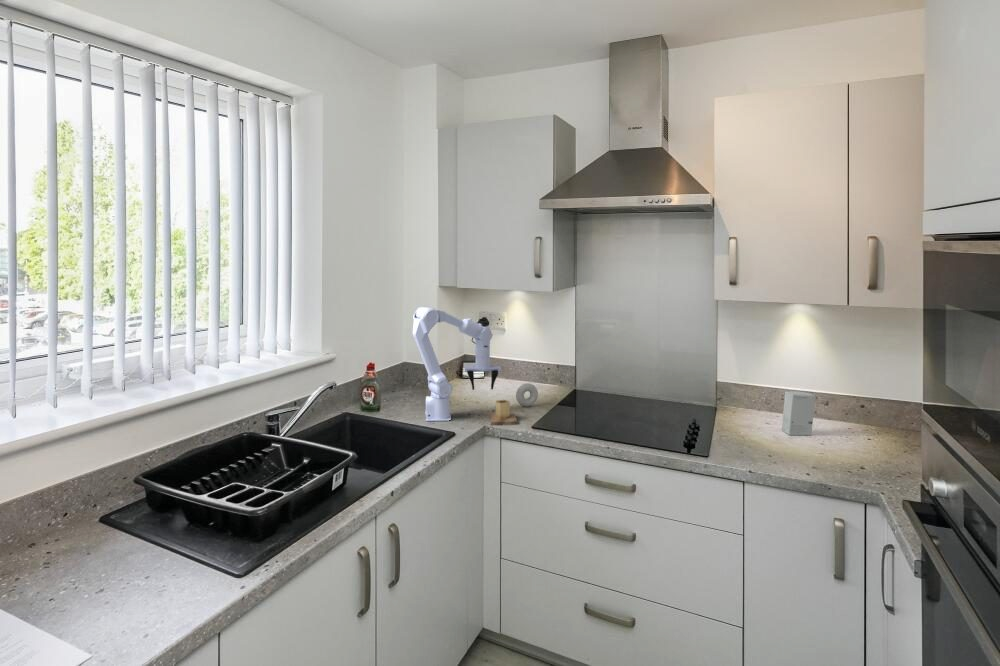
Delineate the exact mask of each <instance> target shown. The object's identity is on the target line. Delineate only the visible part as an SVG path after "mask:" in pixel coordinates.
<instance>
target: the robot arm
mask: <svg viewBox="0 0 1000 666" xmlns="http://www.w3.org/2000/svg"><path fill="white" fill-rule="evenodd" d="M412 317H413V323H412V324H413V325H412V337H413V339H414V342H415V344H416V347H417V349H418V352H419V354H420V356H421V359H422V361H423V364H424V367H425V369H426V372H427V381H428V382H427V386H428V390H429V391H430V396H428V395H427V396H425V411H424V412H425V413H424V414H425V422H438V421H439V422H441V421H442V422H444V421H449V420H450V421H451V420H452V417H451V416H452V414H451V413H450V411H451V410H450V408H451V407H450V403H451V402H450V401H451V400H450V396H451V394H452V391H453V384H452V383H451V382H449V381H448V379H447V377H446V375H445V374H444V373H443V371H442V369H441V366H440V363H439V361H438V358H437V355H436V353H435V350H434V348H433V346H432V343H431V340H430V337H429V333H430V332H431V330H432V329H433V328H434V327H435V325H436V324H438V323H440V324H441V323H443V322H444V323H446V324H448V325H452V326H453V327H454V326H455V327H457V328H458V330H459V332H460V333H462V334H464V335H467V336H469V337H471V338H473V339H475V340H474V341H475V342H474V343H475V365H469V366H468V365H467V366H464V373H467V376H468V378H469V380H470V384H471V389H472V390H473V391H474V390H475V383H474V380H475V379H474V378H475V374H474V373H476V372H491V374H490V375H491V382H490V383H491V384H490V389H491V390H494V385H495V382H496V379H497V378H498V375H499V372H502V370H501V369H502V367H501V365H490V363H491V362H490V361H491V359H490V358H491V356H490V355H491V354H490V352H491V351H490V347H491V346H490V344H491V340H492V339H493V333H492V330H491V329H490V328H489V327H486V326H483V324H482V323H480V322H479V323H477V322H475V321H473V319H472V318H469V317H468V318H464V319H460V318H459V317H457V316H454V315H452V314H449V313H448V312H446V311H443V310H440V309H436V308H432V307H428V306H419V307H418V308H417V309H416V310H415V312H414V313H413V316H412Z"/></svg>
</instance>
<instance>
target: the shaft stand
mask: <svg viewBox="0 0 1000 666" xmlns="http://www.w3.org/2000/svg"><path fill="white" fill-rule="evenodd" d="M488 419H489V423H490V425H491V426H503V425H504V426H506V425H510V426H511V425H518V419H517V417H516V415H515V412H514V411H510V417H509V418H507V419H499V418H496V411H491V412H490V411H489V412H488Z"/></svg>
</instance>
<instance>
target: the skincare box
mask: <svg viewBox="0 0 1000 666" xmlns="http://www.w3.org/2000/svg"><path fill="white" fill-rule="evenodd" d="M815 402H816V394H813V393H810V392H806V391H789V390H788V391H784V402H783V412H782V420H781V421H782V422H781V431H782V432H784V433H785V434H787V435H788V436H812V433H813V431H812V430H813V424H814V412H815V404H816V403H815Z"/></svg>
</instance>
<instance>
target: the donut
mask: <svg viewBox="0 0 1000 666" xmlns="http://www.w3.org/2000/svg"><path fill="white" fill-rule="evenodd" d="M538 391H539V390H538V389H537V387H536V386H535V385H534V384H532V383H527V382H526V383H523V384H521V385H520V386H519V387H518V388H517V391H516V392H515V393H516V394H515V399H516V401H517V403H518V404H519V405H520V406H522V407H531V406H533V405H535V403H536V402H537V400H538V398H539V392H538ZM526 392H528V393H529V397H528V398H525V393H526Z"/></svg>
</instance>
